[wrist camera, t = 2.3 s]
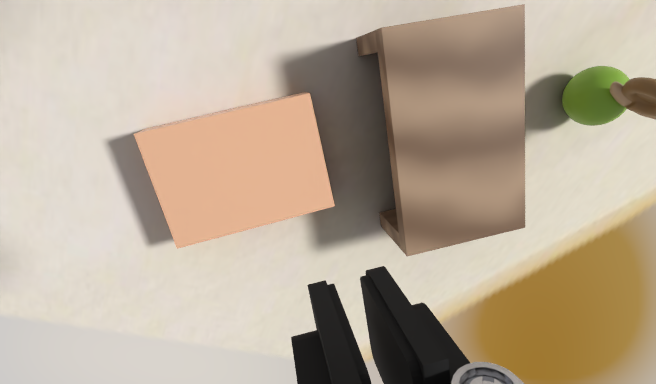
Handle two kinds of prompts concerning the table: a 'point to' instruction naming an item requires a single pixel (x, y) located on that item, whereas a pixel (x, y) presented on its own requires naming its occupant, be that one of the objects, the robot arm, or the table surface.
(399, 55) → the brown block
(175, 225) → the peach tile
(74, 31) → the table surface
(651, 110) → the snail figurine
